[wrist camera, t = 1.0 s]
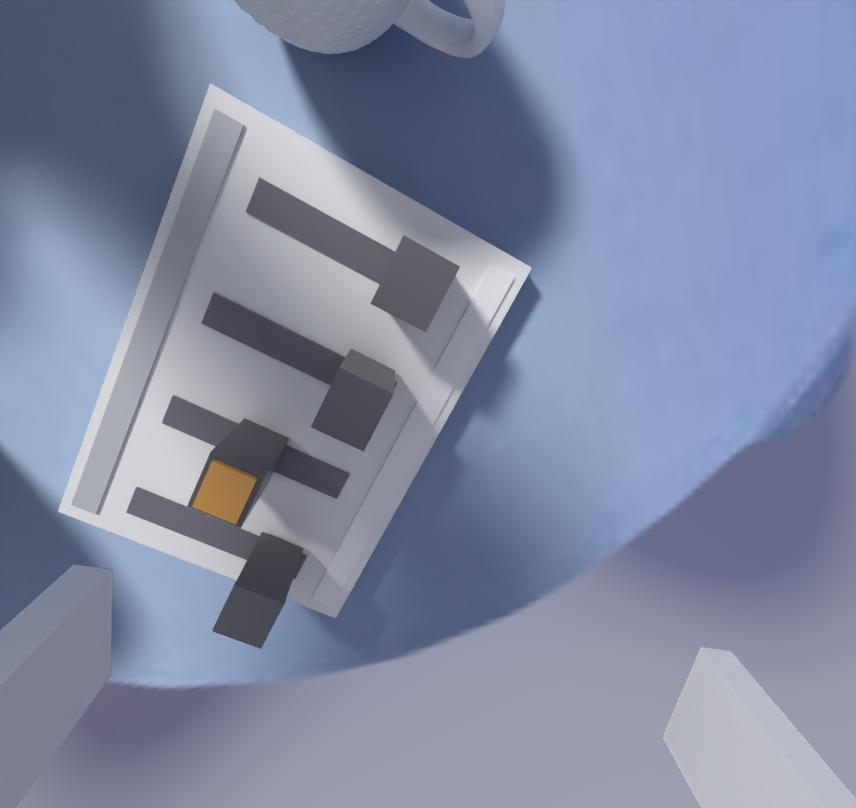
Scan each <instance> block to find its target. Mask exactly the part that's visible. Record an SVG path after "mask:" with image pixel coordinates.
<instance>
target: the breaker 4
mask: <svg viewBox="0 0 856 808" xmlns="http://www.w3.org/2000/svg"><path fill="white" fill-rule="evenodd" d="M459 268H460V266H458V265H456V264H455V263H453V262H451V261H449V260H447V259H446V258H444V257H442V256H440V255H438V254H437V253H435V252H433V251H431V250H429V249H428V248H426V247H424V246H422V245H420V244H419V243H417V242H415V241H413V240H411V239H410V238H408V237H406V236H404V235H403V237H402V239H401V241H400V243H399V245H398V248H397V250H396V252H395V254H394V256H393V258H392V260H391V262H390V264H389V266H388V268H387V270H386V272H385V274H384V276H383V279H382V281H381V283H380V285H379V287H378V289H377V291H376V293H375V295H374V297H373V299H372V301H371V303H370V304H372V305H374V306H376V307H378V308H380V309H381V310H383V311H385V312H387V313H389V314H391V315H393V316H395V317H397V318H399V319H401V320H403V321H405V322H406V323H408V324H410V325H412V326H414V327H416V328H418V329H420V330H422V331H424V332H426V331H427V329H428V327H429V326H430V324H431V322H432V320H433V318H434V316H435V314H436V312H437V310H438V308H439V306H440V304H441V303H442V301H443V299H444V297H445V295H446V293H447V291H448V289H449V287H450V285H451V283H452V281H453V280H454V278H455V276H456V274H457V272H458V270H459Z"/></svg>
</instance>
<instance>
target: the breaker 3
mask: <svg viewBox="0 0 856 808" xmlns="http://www.w3.org/2000/svg"><path fill="white" fill-rule="evenodd" d="M394 383H395V370H393V369H391V368H389V367H387V366H385V365H383V364H381V363H379V362H377V361H375V360H373V359H371V358H369V357H367V356H365V355H363V354H361V353H359V352H357V351H355V350H353V349H350V351H349V353H348V354H347V356H346V358H345V359H344V361H343V362H342V364H341V366H340V367H339V369H338V372H337V374H336V376H335V378H334V380H333V382H332V384H331V386H330V388H329V390H328V392H327V394H326V396H325V398H324V400H323V403H322V405H321V407H320V409H319V411H318V413H317V415H316V417H315V419H314V421H313V423H312V425H311V428H313V429H315V430H318V431H320V432H322V433H324V434H326V435H329V436H331V437H333V438H335V439H337V440H339V441H342V442H344V443H346V444H348V445H350V446H353V447H355V448H357V449H359V450H361V451H363V452H364V450H365V448H366V446H367V444H368V442H369V441H370V439H371V437H372V435H373V433H374V431H375V429H376V427H377V425H378V423H379V421H380V419H381V418H382V416H383V414H384V412H385V410H386V408H387V406H388V404H389V402H390V400H391V398H392V396H393V395H394Z"/></svg>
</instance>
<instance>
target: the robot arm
mask: <svg viewBox="0 0 856 808" xmlns="http://www.w3.org/2000/svg"><path fill="white" fill-rule="evenodd" d="M112 576H113V570H112V569H105V568H97V567H90V566H82V565H74V564H73V565H72V566H71V567H70V568H69V569H68V570H67V571H66V572H64V573H63V574H62V575H61V576H60V577H59V578H58V579H57V580H56V581H54V582H53V583H52V584H51V585H50V586H49V587H48V588H47V589H46V590H44V591H43V592H42V593H41V594H40V595H39V596H38V597H37V598H36V599H34V600H33V601H32V602H31V603H30V604H29V605H28V606H27V607H26V608H24V609H23V610H22V611H21V612H20V613H19V614H18V615H17V616H15V617H14V618H13V619H12V620H11V621H10V622H9V623H8V624H7V625H5V626H4V627H3V628H2V629H1V630H0V808H16V806H17V805H18V804H19V802H20V801H21V799H22V798H23V797H24V795H25V794H26V792H27V791H28V790H29V788H30V787H31V785H32V784H33V783H34V781H35V780H36V779H37V777H38V776H39V774H40V773H41V772H42V770H43V769H44V767H45V766H46V765H47V763H48V762H49V760H50V759H51V758H52V756H53V755H54V754H55V752H56V751H57V749H58V748H59V747H60V745H61V744H62V742H63V741H64V740H65V738H66V737H67V735H68V734H69V733H70V731H71V730H72V729H73V727H74V726H75V724H76V723H77V722H78V720H79V719H80V717H81V716H82V715H83V713H84V712H85V710H86V709H87V708H88V706H89V705H90V704H91V702H92V701H93V699H94V698H95V697H96V695H97V694H98V692H99V691H100V689H101V688H102V687H103V685H104V684H105V683H106V681H107V680H108V679H109V677H110V676H111V631H112ZM662 737H663V739H664V741H665V742H666V744H667V746H668V748H669V750H670V752H671V753H672V755H673V757H674V759H675V761H676V762H677V765H678V766H679V768H680V770H681V772H682V773H683V775H684V777H685V779H686V781H687V783H688V784H689V786H690V788H691V790H692V792H693V794H694V796H695V797H696V799H697V801H698V803H699V805H700V807H701V808H856V799H855V798H854V796H853V795H852V794H851V793H850V792H849V791H848V789H847V788H846V787H845V786H844V784H843V783H842V782H841V781H840V780H839V779H838V777H837V776H836V775H835V774H834V773H833V771H832V770H831V769H830V768H829V767H828V766H827V765H826V763H825V762H824V761H823V760H822V759H821V757H820V756H819V755H818V754H817V753H816V752H815V750H814V749H813V748H812V747H811V746H810V744H809V743H808V742H807V741H806V740H805V738H804V737H803V736H802V735H801V734H800V733H799V731H798V730H797V729H796V728H795V727H794V725H793V724H792V723H791V722H790V721H789V719H788V718H787V717H786V716H785V715H784V714H783V712H782V711H781V710H780V709H779V708H778V707H777V706H776V704H775V703H774V702H773V701H772V700H771V698H770V697H769V696H768V695H767V694H766V692H765V691H764V690H763V689H762V688H761V686H760V685H759V684H758V683H757V682H756V681H755V679H754V678H753V677H752V676H751V675H750V673H749V672H748V671H747V670H746V669H745V667H744V666H743V665H742V664H741V663H740V662H739V660H738V659H737V658H736V657H735V656H734V654H733V653H732V652H731V651H726V650H718V649H710V648H703V647H701V648H700V650H699V652H698V654H697V657H696V659H695V662H694V664H693V666H692V669H691V671H690V673H689V676H688V678H687V680H686V683H685V685H684V687H683V690H682V692H681V694H680V697H679V699H678V702H677V704H676V706H675V709H674V711H673V713H672V715H671V718H670V720H669V722H668V725H667V727H666V730H665V732H664V734H663V736H662Z"/></svg>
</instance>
